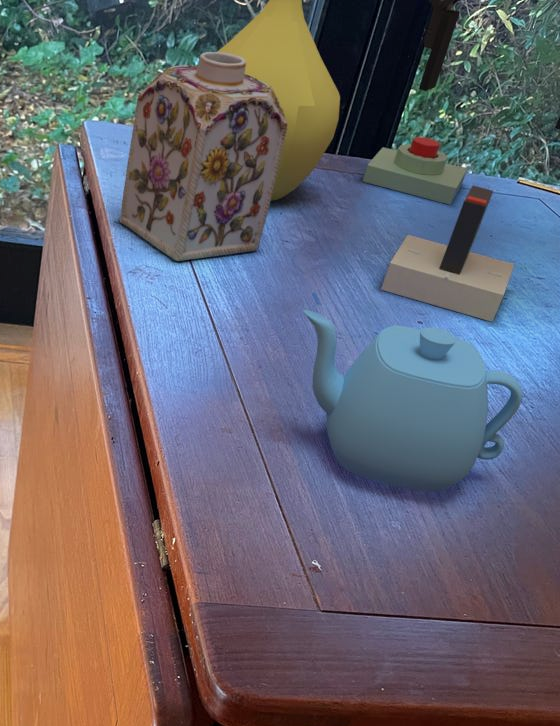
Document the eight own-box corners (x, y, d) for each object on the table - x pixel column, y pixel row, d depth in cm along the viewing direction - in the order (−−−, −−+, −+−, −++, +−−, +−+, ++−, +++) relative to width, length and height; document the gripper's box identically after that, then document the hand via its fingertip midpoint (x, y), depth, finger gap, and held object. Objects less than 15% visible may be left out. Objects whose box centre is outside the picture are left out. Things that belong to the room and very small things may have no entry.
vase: (320, 180, 132) (395, -96, 111) (310, 227, 118) (393, -78, 98) (186, 152, 133) (235, -124, 113) (160, 195, 120) (212, -110, 100)
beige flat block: (503, 290, 111) (515, 262, 109) (492, 322, 104) (504, 293, 102) (398, 260, 114) (408, 232, 112) (380, 290, 107) (390, 261, 105)
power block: (461, 185, 138) (472, 154, 135) (450, 205, 131) (461, 173, 128) (377, 163, 141) (386, 133, 138) (362, 181, 134) (371, 150, 131)
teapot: (311, 273, 80) (538, 322, 78) (277, 392, 87) (484, 440, 85) (297, 338, 70) (555, 396, 69) (261, 466, 78) (493, 521, 76)
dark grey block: (448, 251, 109) (473, 182, 104) (467, 256, 109) (494, 188, 104) (439, 268, 105) (465, 198, 100) (459, 274, 104) (487, 203, 99)
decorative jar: (260, 253, 110) (305, 72, 98) (176, 264, 105) (212, 75, 93) (197, 212, 117) (231, 39, 105) (115, 221, 112) (141, 40, 100)
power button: (437, 155, 134) (442, 141, 133) (433, 161, 131) (437, 147, 130) (411, 148, 135) (415, 134, 134) (406, 155, 132) (410, 141, 131)
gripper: (437, -203, 83) (359, 78, 98) (750, -149, 74) (613, 151, 89) (467, -199, 88) (388, 68, 103) (763, -148, 79) (632, 136, 94)
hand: (492, 107), depth 96 cm, fingers open, 13 cm apart
